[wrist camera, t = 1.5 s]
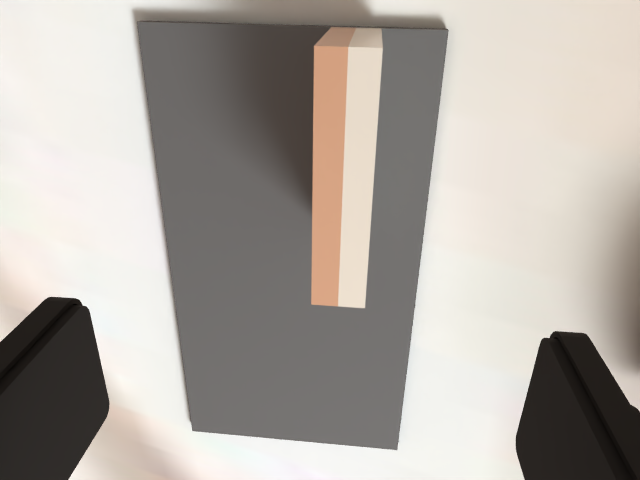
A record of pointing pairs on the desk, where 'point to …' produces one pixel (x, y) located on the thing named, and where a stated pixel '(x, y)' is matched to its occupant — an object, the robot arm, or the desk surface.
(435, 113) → the mat
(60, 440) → the robot arm
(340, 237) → the block
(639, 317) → the desk surface
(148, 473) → the desk surface
